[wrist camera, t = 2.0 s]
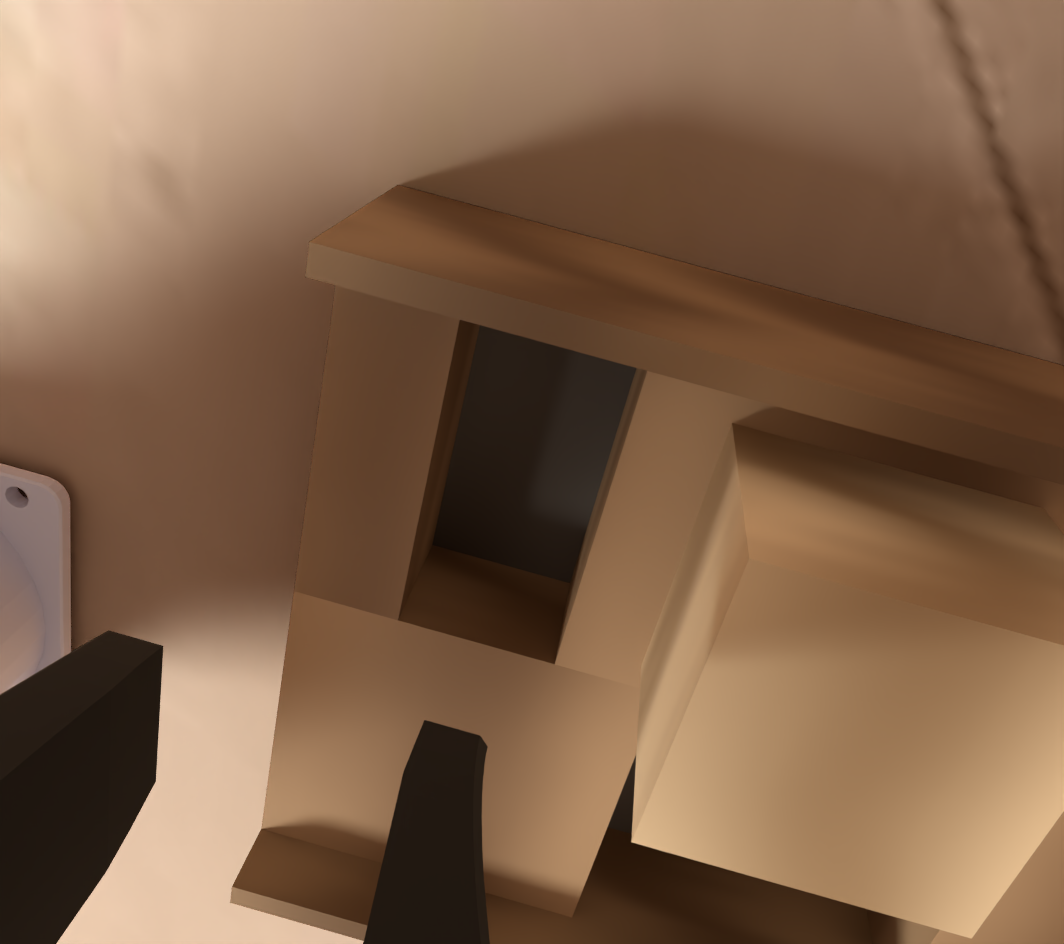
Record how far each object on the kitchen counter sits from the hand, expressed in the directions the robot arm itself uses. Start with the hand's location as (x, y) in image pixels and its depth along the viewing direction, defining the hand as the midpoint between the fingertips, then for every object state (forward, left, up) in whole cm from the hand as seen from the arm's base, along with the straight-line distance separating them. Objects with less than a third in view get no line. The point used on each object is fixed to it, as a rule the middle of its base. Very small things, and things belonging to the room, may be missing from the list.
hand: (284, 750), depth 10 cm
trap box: (+8, -3, -9) cm, 13 cm away
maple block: (+7, 0, -6) cm, 9 cm away
